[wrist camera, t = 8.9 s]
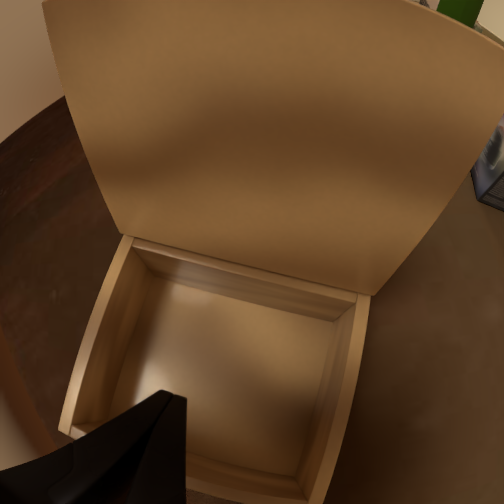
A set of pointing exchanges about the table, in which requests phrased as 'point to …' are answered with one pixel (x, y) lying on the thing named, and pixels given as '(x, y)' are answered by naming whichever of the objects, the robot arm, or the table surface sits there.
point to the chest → (225, 367)
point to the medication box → (477, 27)
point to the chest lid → (278, 124)
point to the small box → (491, 170)
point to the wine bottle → (457, 9)
